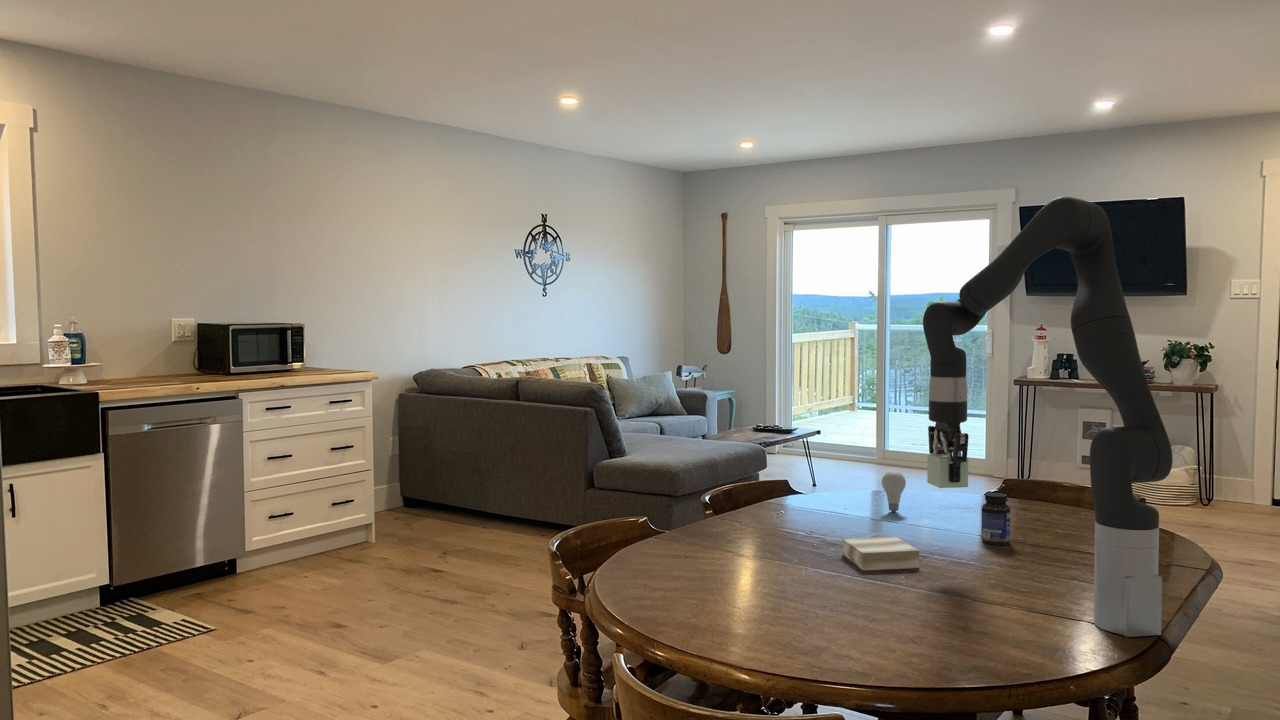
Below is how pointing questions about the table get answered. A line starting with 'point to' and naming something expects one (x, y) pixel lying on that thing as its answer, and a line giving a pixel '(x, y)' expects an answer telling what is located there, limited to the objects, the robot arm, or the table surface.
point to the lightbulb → (893, 488)
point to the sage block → (944, 472)
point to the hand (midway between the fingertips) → (947, 478)
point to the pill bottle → (996, 519)
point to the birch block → (880, 553)
